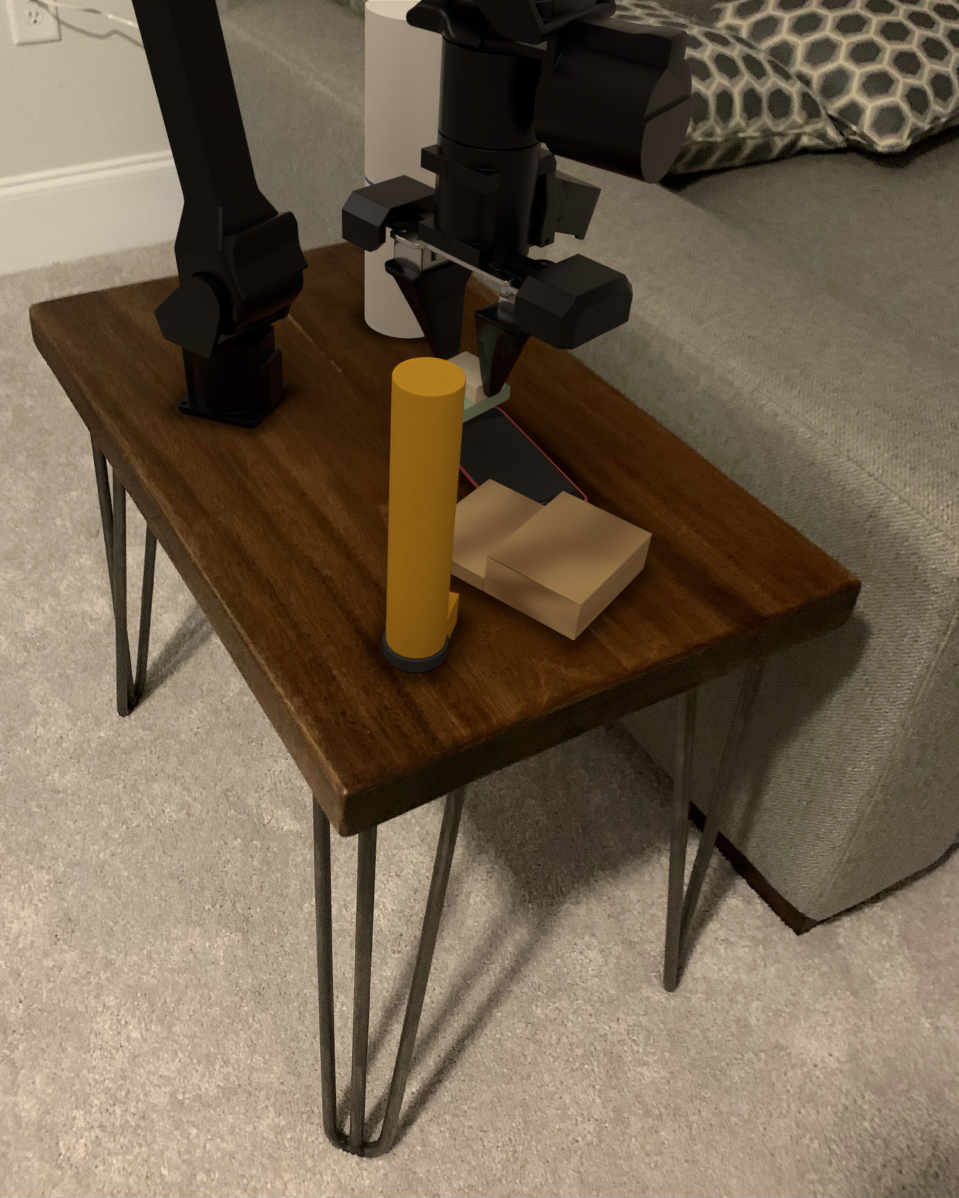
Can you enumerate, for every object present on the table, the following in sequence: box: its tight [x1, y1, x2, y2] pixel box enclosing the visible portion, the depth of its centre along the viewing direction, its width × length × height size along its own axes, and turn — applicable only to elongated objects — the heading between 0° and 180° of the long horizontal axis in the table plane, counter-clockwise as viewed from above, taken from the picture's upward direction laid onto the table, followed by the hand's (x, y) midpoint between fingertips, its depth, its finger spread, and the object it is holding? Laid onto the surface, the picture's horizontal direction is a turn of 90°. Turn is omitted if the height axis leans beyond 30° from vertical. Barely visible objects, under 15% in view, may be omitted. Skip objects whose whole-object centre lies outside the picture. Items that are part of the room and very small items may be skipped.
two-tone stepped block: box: [446, 350, 511, 423], centre depth 66 cm, size 7×4×2 cm, turn 137°
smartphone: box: [459, 406, 588, 506], centre depth 78 cm, size 7×1×14 cm
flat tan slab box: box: [451, 479, 653, 641], centre depth 69 cm, size 13×9×3 cm
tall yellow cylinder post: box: [381, 356, 466, 674], centre depth 57 cm, size 5×4×19 cm
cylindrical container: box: [364, 0, 442, 339], centre depth 85 cm, size 7×7×25 cm
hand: (470, 382), depth 67 cm, fingers closed on two-tone stepped block, 3 cm apart
